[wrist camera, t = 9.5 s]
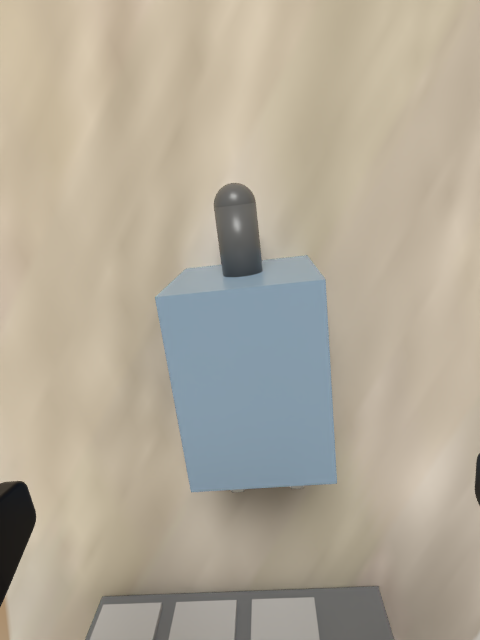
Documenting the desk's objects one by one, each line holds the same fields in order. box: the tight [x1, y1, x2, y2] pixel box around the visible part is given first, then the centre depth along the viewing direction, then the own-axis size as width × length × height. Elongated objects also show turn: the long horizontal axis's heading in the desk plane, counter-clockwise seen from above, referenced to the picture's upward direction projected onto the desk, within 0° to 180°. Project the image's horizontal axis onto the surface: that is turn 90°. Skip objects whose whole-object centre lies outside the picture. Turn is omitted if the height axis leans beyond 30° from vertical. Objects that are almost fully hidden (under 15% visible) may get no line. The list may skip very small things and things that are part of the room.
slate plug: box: [155, 183, 337, 492], centre depth 15 cm, size 12×5×5 cm, turn 7°
